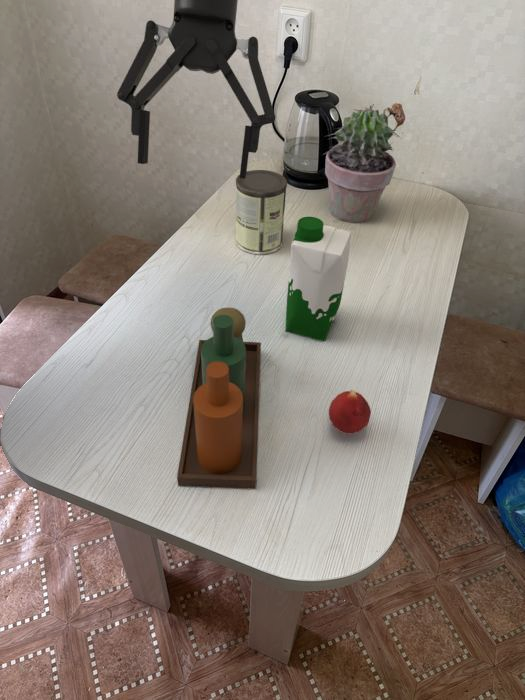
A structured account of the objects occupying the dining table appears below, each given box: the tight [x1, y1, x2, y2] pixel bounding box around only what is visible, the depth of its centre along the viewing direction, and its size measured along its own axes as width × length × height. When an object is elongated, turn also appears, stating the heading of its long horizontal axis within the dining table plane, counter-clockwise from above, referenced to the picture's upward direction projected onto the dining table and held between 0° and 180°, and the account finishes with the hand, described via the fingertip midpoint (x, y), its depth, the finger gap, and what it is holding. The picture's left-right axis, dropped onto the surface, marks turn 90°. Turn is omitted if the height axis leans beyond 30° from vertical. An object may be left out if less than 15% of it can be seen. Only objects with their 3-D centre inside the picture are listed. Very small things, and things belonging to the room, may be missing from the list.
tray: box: [176, 339, 262, 490], centre depth 75 cm, size 10×26×2 cm, turn 179°
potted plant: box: [315, 102, 406, 224], centre depth 113 cm, size 18×20×25 cm
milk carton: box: [285, 216, 352, 342], centre depth 84 cm, size 9×9×20 cm
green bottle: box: [201, 315, 246, 412], centre depth 69 cm, size 6×6×17 cm
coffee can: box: [235, 169, 288, 256], centre depth 105 cm, size 10×10×14 cm
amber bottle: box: [193, 362, 243, 474], centre depth 63 cm, size 6×6×17 cm
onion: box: [328, 389, 372, 435], centre depth 71 cm, size 6×6×8 cm
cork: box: [210, 306, 247, 372], centre depth 78 cm, size 6×6×11 cm
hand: (192, 170), depth 68 cm, fingers open, 13 cm apart
